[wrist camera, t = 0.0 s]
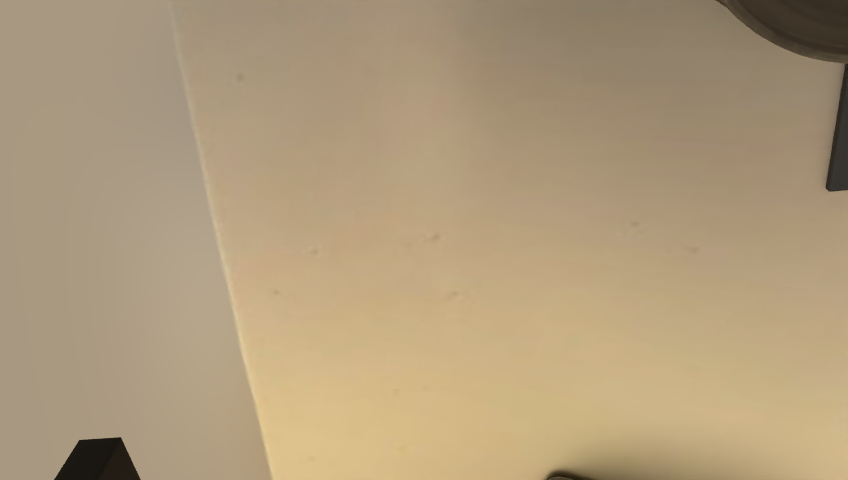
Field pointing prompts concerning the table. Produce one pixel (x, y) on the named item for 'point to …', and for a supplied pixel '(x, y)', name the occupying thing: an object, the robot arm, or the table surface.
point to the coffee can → (798, 25)
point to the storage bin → (560, 478)
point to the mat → (840, 144)
